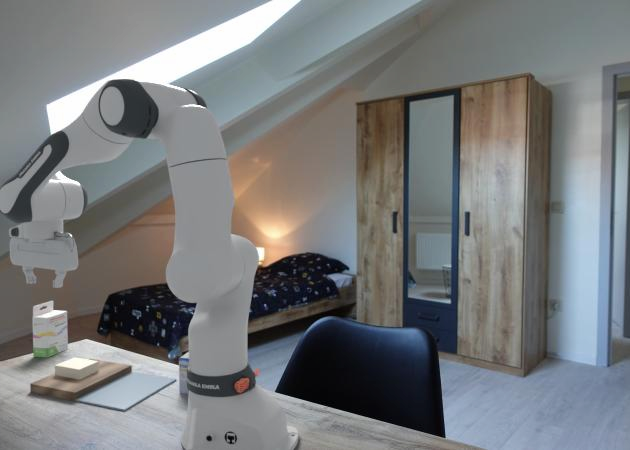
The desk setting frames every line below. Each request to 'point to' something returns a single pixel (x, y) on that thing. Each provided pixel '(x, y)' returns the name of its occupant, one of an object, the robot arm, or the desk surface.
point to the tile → (76, 368)
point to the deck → (79, 381)
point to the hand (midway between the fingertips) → (44, 285)
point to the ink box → (49, 330)
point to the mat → (126, 391)
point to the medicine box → (183, 373)
